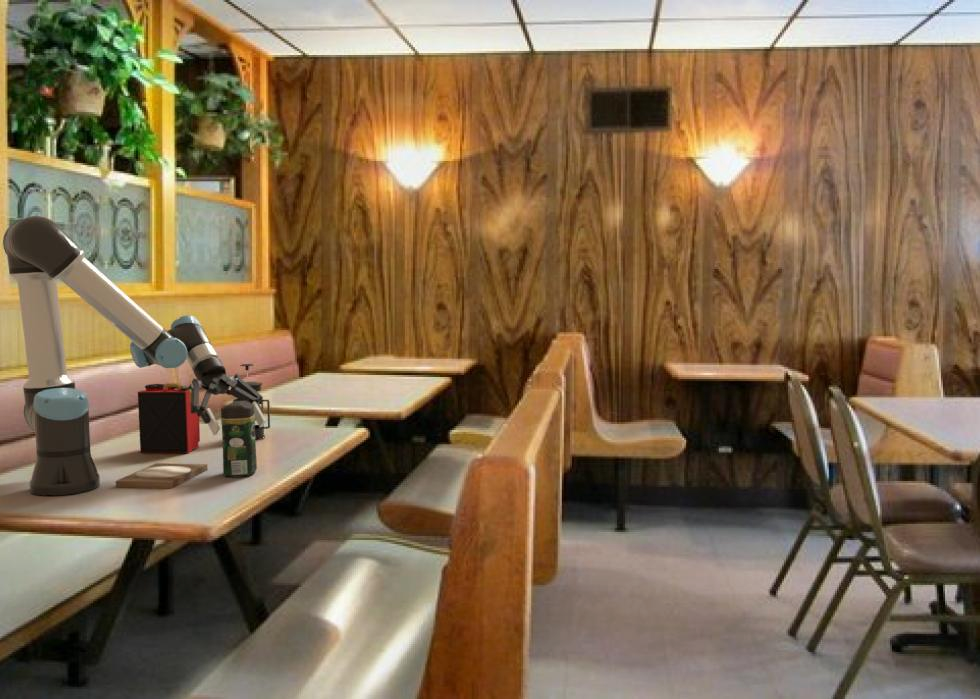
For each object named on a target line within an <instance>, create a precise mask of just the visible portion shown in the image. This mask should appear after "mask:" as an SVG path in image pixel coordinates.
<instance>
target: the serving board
mask: <svg viewBox="0 0 980 699" xmlns="http://www.w3.org/2000/svg"><path fill="white" fill-rule="evenodd" d="M206 471H208V464H207V463H205V464H204V463H167V462H166V463H162V462H161V463H159V462H158V463H153V464H152V465H149V466H147V467H145V468H143V469H140V470H137V471H136V472H135V471H134V472H133V473H131V474H129V475H126V476H124V477H122V478H119V479H117V480H115V487H116V488H139V489H141V488H146V489H151V488H152V489H172V488H175V487H176V486H179V485H180V484H183V483H184V482H187V481H189V480H190V479H192V478H194V477H196V476H199V475H200V474H202V473H204V472H206Z"/></svg>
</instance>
